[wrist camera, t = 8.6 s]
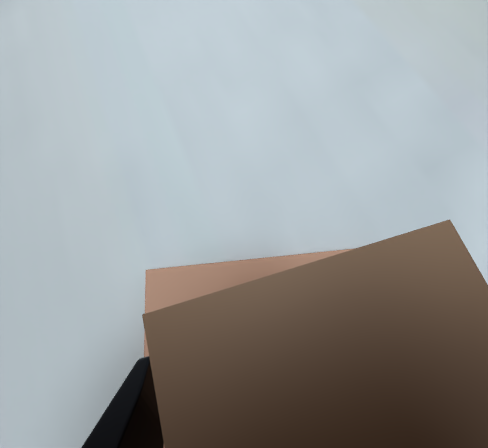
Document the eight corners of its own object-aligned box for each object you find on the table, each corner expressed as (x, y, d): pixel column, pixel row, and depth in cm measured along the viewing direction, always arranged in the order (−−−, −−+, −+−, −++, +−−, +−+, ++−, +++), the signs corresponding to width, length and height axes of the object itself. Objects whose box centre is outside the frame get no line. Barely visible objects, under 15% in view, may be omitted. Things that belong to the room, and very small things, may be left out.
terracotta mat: (473, 568, 13) (489, 587, 12) (147, 597, 13) (139, 618, 12) (388, 248, 18) (395, 244, 17) (151, 272, 18) (145, 269, 17)
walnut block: (338, 376, 15) (706, 663, 3) (252, 405, 15) (235, 861, 3) (305, 288, 17) (450, 219, 4) (227, 313, 16) (142, 314, 4)
